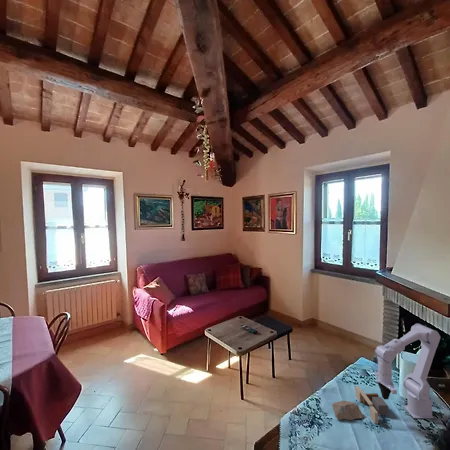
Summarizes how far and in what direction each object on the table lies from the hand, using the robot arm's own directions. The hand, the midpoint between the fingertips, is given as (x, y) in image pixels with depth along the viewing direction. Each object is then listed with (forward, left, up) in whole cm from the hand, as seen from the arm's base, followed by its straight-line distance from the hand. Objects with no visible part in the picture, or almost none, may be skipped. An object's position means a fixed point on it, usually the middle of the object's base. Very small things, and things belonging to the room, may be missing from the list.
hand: (385, 398), depth 122 cm
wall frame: (+7, -6, -10) cm, 13 cm away
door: (+2, -9, -10) cm, 14 cm away
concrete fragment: (+18, -2, -10) cm, 21 cm away
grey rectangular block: (0, -5, -10) cm, 11 cm away
